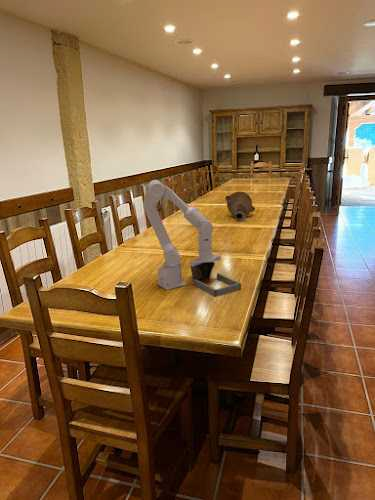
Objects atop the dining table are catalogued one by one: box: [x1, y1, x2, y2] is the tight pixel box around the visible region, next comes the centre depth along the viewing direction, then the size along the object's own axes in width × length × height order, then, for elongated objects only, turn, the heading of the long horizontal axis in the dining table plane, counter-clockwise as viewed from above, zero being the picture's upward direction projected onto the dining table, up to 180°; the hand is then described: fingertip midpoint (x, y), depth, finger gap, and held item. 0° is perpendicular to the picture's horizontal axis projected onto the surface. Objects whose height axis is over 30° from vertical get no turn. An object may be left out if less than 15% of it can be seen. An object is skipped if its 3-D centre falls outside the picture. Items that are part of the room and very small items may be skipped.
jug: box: [225, 191, 256, 223], centre depth 284 cm, size 20×20×30 cm
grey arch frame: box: [193, 272, 242, 297], centre depth 154 cm, size 13×15×2 cm
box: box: [190, 265, 212, 280], centre depth 164 cm, size 6×6×7 cm
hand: (206, 278), depth 161 cm, fingers closed, pressing on box
